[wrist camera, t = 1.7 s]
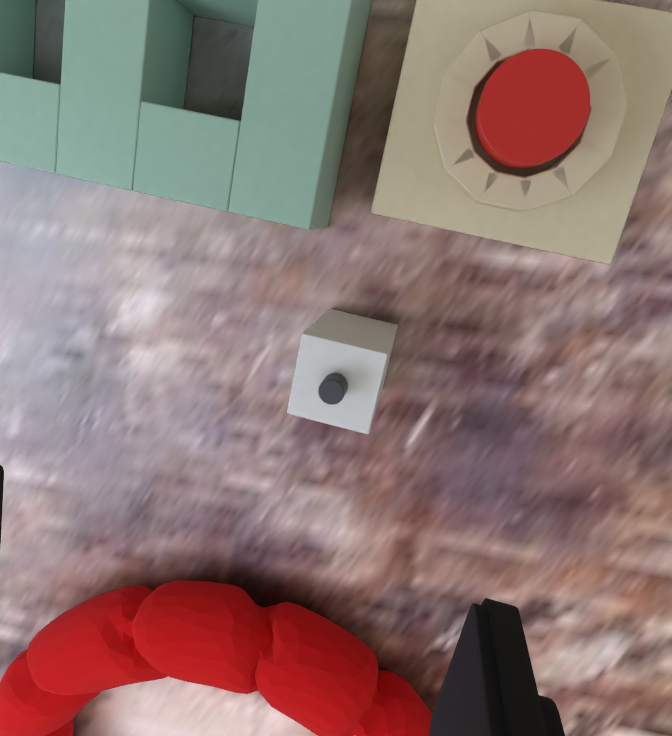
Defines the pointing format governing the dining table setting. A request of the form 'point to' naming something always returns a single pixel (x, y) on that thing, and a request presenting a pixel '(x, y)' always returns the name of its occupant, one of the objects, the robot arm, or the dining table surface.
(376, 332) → the white block with knob
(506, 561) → the dining table surface
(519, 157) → the power button
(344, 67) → the green socket board
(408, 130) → the switch box
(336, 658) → the decorative ring
